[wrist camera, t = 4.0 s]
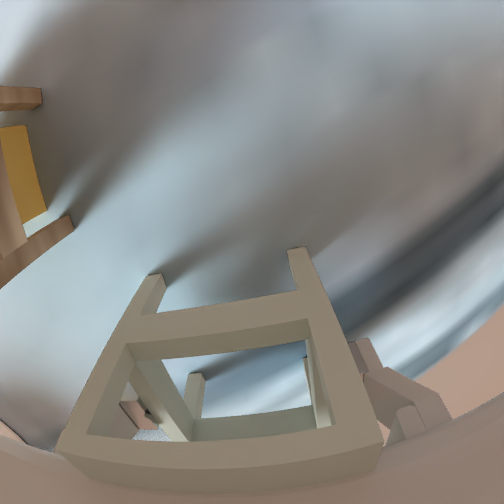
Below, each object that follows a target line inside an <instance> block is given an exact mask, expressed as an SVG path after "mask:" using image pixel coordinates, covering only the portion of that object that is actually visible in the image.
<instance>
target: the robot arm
mask: <svg viewBox="0 0 504 504" xmlns="http://www.w3.org/2000/svg"><path fill="white" fill-rule="evenodd" d="M347 344H348V346H349V348H350V351H351V353H352V356H353V358H354V361H355V363H356V366H357V368H358V371H359V373H360V376H361V379H362V381H363V384H364V386H365V389H366V392H367V394H368V397H369V400H370V402H371V405H372V408H373V410H374V413H375V416H376V419H377V420H378V421H379V422H381V423H382V424H383V425H384V426H386V427H387V428H389V429H390V430H391V431H390V434H389V437H388V440H387V443H386V446H384V447H382V450H381V453H380V455H379V458H378V461H377V464H376V466H375V469H374V471H370V472H367V473H363V474H360V475H356V476H352V477H348V478H344V479H340V480H335V481H331V482H326V483H321V484H315V485H310V486H304V487H297V488H290V489H283V490H274V491H264V492H250V493H225V494H207V493H182V492H168V491H158V490H150V489H142V488H135V487H129V486H123V485H117V484H112V483H107V482H103V481H98V480H94V479H90V478H89V477H87V476H86V475H85V474H84V473H82V472H81V471H80V470H78V469H77V468H76V467H75V466H74V465H72V464H71V463H70V462H69V461H68V460H66V459H65V458H64V457H63V456H62V455H61V454H60V453H58V452H57V451H56V447H57V445H58V443H59V440H60V438H61V436H62V433H63V431H64V429H63V430H62V432H61V434H60V437H59V439H58V441H57V443H56V446H55V448H54V450H53V453H51V452H48V451H45V450H42V449H38V448H35V447H32V446H30V445H27V444H24V443H21V442H18V441H16V440H13V439H11V438H8V437H6V436H3V435H1V434H0V504H504V392H503V393H501V394H500V395H498V396H496V397H494V398H493V399H491V400H489V401H488V402H486V403H484V404H482V405H480V406H479V407H477V408H475V409H473V410H471V411H469V412H467V413H465V414H464V415H461V416H459V417H457V418H455V419H452V417H451V415H450V414H449V412H448V410H447V408H446V406H445V404H444V403H443V401H442V399H441V397H440V396H439V394H438V393H437V392H435V391H433V390H431V389H429V388H427V387H425V386H423V385H421V384H419V383H417V382H415V381H413V380H412V379H410V378H408V377H406V376H404V375H402V374H400V373H398V372H396V371H394V370H393V369H391V368H389V367H385V368H383V365H382V363H381V361H380V359H379V357H378V355H377V353H376V351H375V349H374V347H373V345H372V343H371V342H370V340H369V338H367V337H366V338H362V339H359V340H355V341H351V342H347ZM158 427H159V424H158V422H157V421H156V420H155V418H154V417H153V416H152V415H151V413H150V412H149V411H148V409H147V407H146V406H145V404H144V403H143V402H142V400H141V399H140V397H139V396H138V395H137V393H136V392H135V390H134V389H133V387H132V386H131V384H130V383H129V381H127V384H126V387H125V389H124V392H123V394H122V397H121V400H120V402H119V405H118V408H117V411H116V413H115V416H114V419H113V422H112V425H111V427H110V430H109V433H108V436H107V437H111V438H120V439H130V440H131V439H132V438H133V437H134V436H135V435H136V434H137V432H138V431H139V429H149V430H158Z"/></svg>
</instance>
